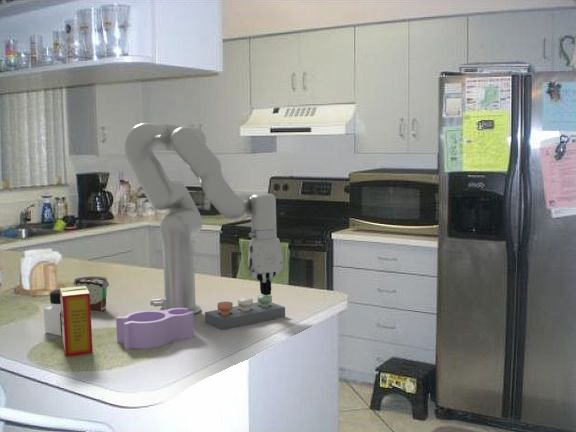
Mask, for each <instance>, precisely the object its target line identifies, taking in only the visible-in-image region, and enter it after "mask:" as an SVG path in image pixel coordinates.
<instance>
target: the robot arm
mask: <svg viewBox="0 0 576 432" xmlns="http://www.w3.org/2000/svg"><path fill="white" fill-rule="evenodd" d="M124 142H125V143H124V153H125V156H126V159H127V161H128V164H129V166H130V167H131V170H132V171H133V173H134V176H136V178H137V181H138V183H139V185H140V187H141V189H142V191H143V193H144V195H145V197H146V199H147V201H148V202H149V204H150V205H151V207H152V208H153V209H154V210H156V211H162V212H163V211H166V212H167V214H166V215H165V216H164V217H163V218H162V219H161V222H160V225H159V235H160V242H161V248H162V259H163V282H164V283H163V285H164V286H163V287H164V288H163V289H164V290H163V291H164V296H163V297H160V298H159V299H158V298H152V299H150V306H153V307H160V308H159V311H161V310H168V309H172V308H188V312H189V311H193V313H194V315H195V314H198V313H200V312H201V305H200V304H198V303H196V278H195V275H196V274H195V251H194V246H193V242H192V241H193V240H192V238H194V237H195V236H196V235H197V236H198V234H199V233H200V232H201V230H202V227H203V218H202V216H201V213H200V211H199V209H198V207H197V206H196V204H195V201H194V200H193V197H192V195H191V194H190V191H189V190H188V188H187V187H186V185H185V184H184V183H183V182H182V181H180V180H179V179H177V178H171V177H170V178H169V177H168V175H167V173H166V171H165V169H164V167H163V165H162V164H161V163H162V162H160V161H159V159H158V158H157V157H156V156H155V153H154V151H169V152H175V153H176V154H177V155H178V157H179V158H180V159H181V161H182V162H183V163H184V164H185V165H186V166H187V168H188V169H189V170H190V171H191V172H192V173H193V175H194V176H195V177H196V178H197V180H198V183H199V185H200V187H201V188H202V190H203V192H204V194H205V196H206V198H207V199H208V200H209V202H210V203H211V205H212V206H214V208H215V209H216V210H217V211H218V212H219V214H220V215H221V216H222V217H224V218H225V219H226V220H229V221H238V220H240V219H243V218H245V217H250V221H251V223H250V224H251V230H250V232H249V233H248V238H251V239H250V240H249V244H248V245H249V246H248V256H247V257H248V258H247V260H248V261H247V266H248V267H247V268H248V271H249V277H250V278H254V279H257V281H258V282H259V290H260V295H271V296H272V282H273V280H274V277H275V276H276V275H278V274H280V273H281V272H282V270H283V268H284V267H283V266H284V263H283V262H284V261H283V259H284V258H283V251H282V250H283V249H282V244H281V241H280V238H279V237H277V204H276V203H277V200H276V196H275V195H274V194H272V193H267V192H266V193H256V194H254V193H248V192H237V193H236V192H235V191H234V190H233V189H232V188H231V187H230V185H229V183H228V182H227V181H226V179H225V178H224V176H223V174H222V164H221V162H220V159H219V158H218V157H217V156H216V155H215V154H214V153H213V151H212V150H211V148H209V147H208V145H207V138H206V135H205V133H204V131H203V130H201V129H200V128H199V127H196V126H186V125H179V124H169V123H163V122H162V123H161V122H160V123H159V122H142V123H139V124H136V125H134V126H133V127H132V128H131V129H130V131H129V132H128V134H127V136H126V138H125V141H124Z"/></svg>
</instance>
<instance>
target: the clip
mask: <svg viewBox="0 0 576 432" xmlns="http://www.w3.org/2000/svg"><path fill="white" fill-rule="evenodd" d="M194 315H195V314H194V313H193V311H189V312H188V308H172V309H168V310H161V311H160V310H156V309H155V310H154V309H153V310H152V309H151V310H140V311H134V312H130V313H128V314H126V315H124V316H117V317H115V319H116V320H115V323H116V325H115V326H116V342H117V343H118V344H123V343H124V350H130V349H151V348H157V347H159V348H160V347H163V346H165V345H167V344H169V343H171V342H174V341H181V340H183V341H184V340H187V339H192V338H193V337H194V336H195V319H194V318H195V317H194Z"/></svg>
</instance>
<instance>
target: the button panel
mask: <svg viewBox="0 0 576 432" xmlns="http://www.w3.org/2000/svg"><path fill="white" fill-rule="evenodd" d="M285 317H286V307H285V306H282V305H280V304H277V303H274V302H273V301H272V302H269V307H266V308H262V307H260V302H258V301H257V302H253V305H252V306H250V311H245V312H243V311H241V306H238V305H236V306H233V309H231V310H230V315H225V316H222V315H221V314H220V310H218V309H215V310H209V311H205V312H204V322H205V323H207V324H208V325H211V326H213V327H216V328H217V329H219V330H222V331H223V330H229V329H233V328H238V326H239V327H242V326H243V327H244V326H248V325H253V324H256V323H262V322H266V321H267V322H268V321H271V320H275V319H276V320H277V319H281V318H285Z"/></svg>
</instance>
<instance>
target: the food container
mask: <svg viewBox="0 0 576 432" xmlns="http://www.w3.org/2000/svg"><path fill="white" fill-rule="evenodd" d="M73 285H74V287H77V286H86V287H87V289H88V291H89V293H90V309H91V313H92V312H94V313H101V314H102V313H104V312H105V311H106V310H107V290H108V287H109V286H110V283H109V280H108V278H107V277H104V276H97V275H96V276H93V275H92V276H82V277H77V278H74V281H73Z"/></svg>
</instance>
